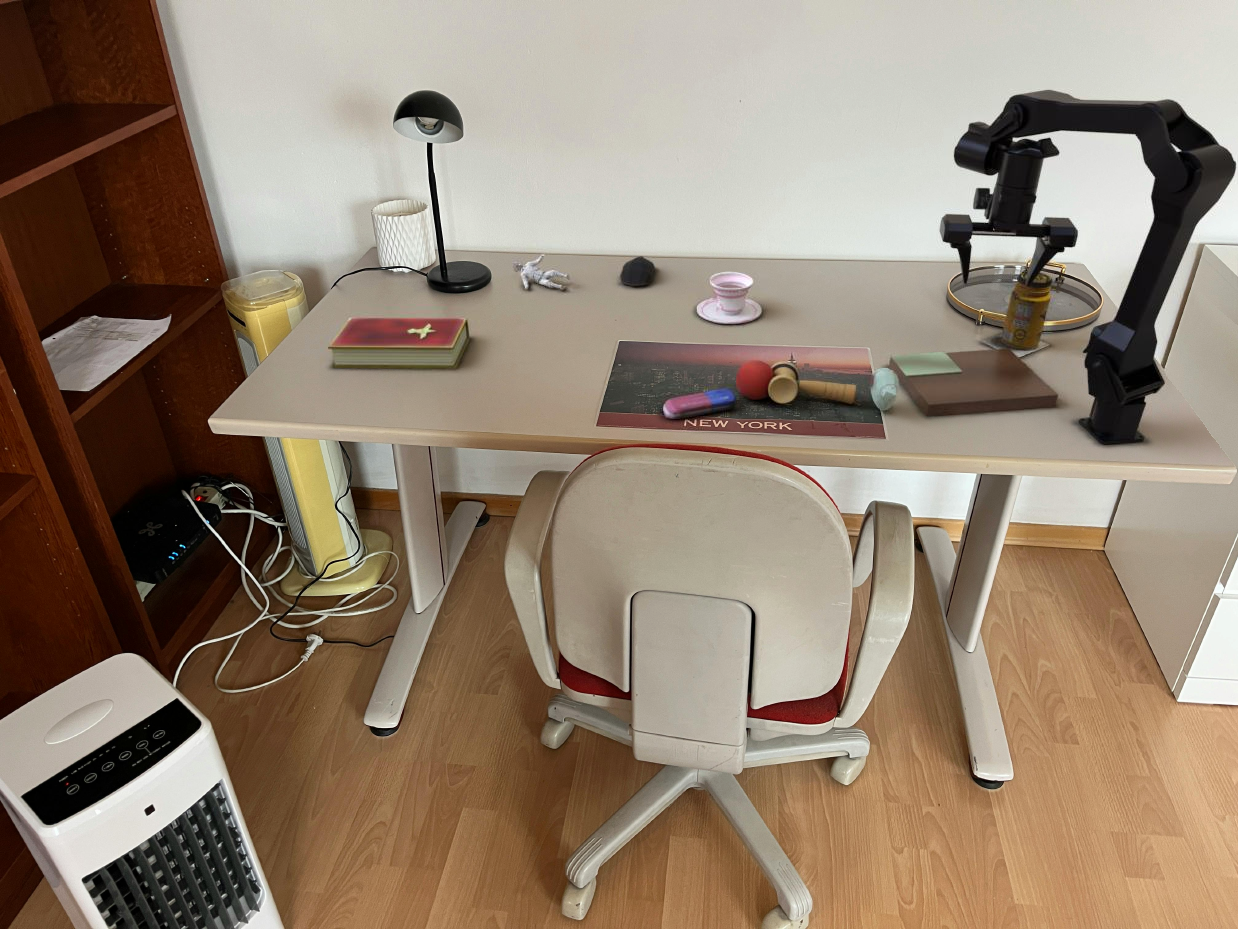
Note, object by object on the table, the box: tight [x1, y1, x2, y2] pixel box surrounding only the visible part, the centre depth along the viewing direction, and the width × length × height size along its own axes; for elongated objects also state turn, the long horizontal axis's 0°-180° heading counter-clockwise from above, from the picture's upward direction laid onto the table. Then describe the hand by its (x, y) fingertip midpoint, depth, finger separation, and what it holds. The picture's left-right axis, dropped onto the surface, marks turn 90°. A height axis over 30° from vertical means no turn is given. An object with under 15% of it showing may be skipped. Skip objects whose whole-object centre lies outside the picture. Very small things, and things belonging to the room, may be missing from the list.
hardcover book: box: [327, 317, 470, 370], centre depth 156 cm, size 12×21×4 cm, turn 87°
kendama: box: [735, 359, 857, 405], centre depth 139 cm, size 8×6×18 cm
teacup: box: [696, 271, 763, 325], centre depth 167 cm, size 12×12×6 cm
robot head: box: [869, 367, 900, 411], centre depth 136 cm, size 8×4×7 cm, turn 170°
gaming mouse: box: [619, 255, 656, 287], centre depth 184 cm, size 6×15×4 cm, turn 169°
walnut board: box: [888, 348, 1059, 417], centre depth 142 cm, size 16×20×2 cm
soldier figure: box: [512, 254, 571, 291], centre depth 181 cm, size 8×5×12 cm
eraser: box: [662, 388, 737, 420], centre depth 138 cm, size 11×4×2 cm, turn 105°
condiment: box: [981, 271, 1053, 358], centre depth 151 cm, size 7×8×12 cm
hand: (995, 284), depth 141 cm, fingers open, 9 cm apart
